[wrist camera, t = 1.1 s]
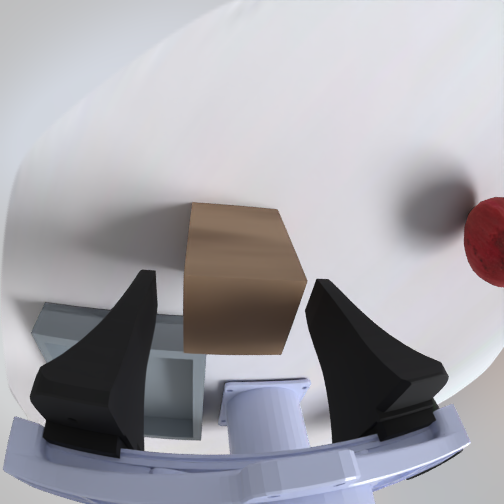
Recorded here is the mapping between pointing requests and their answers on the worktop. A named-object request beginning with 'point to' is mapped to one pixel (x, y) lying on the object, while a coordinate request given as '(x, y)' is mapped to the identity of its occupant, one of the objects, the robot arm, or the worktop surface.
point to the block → (239, 281)
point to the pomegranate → (486, 240)
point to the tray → (158, 369)
